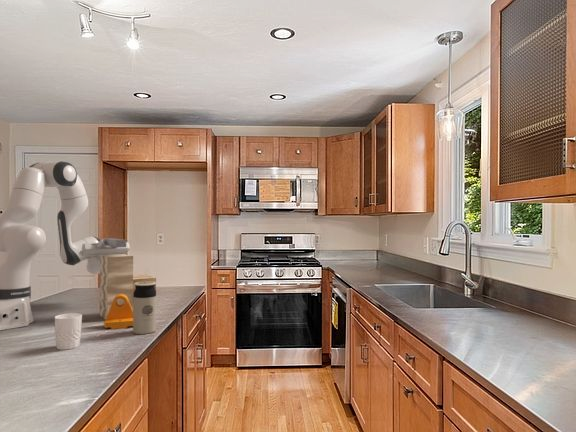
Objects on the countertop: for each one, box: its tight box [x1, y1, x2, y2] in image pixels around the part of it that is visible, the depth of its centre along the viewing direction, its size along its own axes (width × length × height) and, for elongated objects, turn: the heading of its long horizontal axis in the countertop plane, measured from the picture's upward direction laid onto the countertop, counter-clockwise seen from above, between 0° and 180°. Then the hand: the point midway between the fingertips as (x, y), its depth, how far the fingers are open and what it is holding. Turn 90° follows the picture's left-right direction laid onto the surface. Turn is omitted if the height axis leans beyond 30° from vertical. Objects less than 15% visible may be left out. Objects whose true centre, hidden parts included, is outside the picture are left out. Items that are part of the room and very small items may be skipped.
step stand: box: [99, 254, 157, 320], centre depth 179 cm, size 12×20×26 cm, turn 129°
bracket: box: [103, 294, 133, 330], centre depth 159 cm, size 11×7×12 cm, turn 108°
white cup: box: [54, 312, 83, 351], centre depth 133 cm, size 8×8×10 cm
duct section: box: [102, 237, 127, 247], centre depth 179 cm, size 20×4×3 cm, turn 39°
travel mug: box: [132, 282, 157, 335], centre depth 152 cm, size 8×8×18 cm
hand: (110, 240), depth 184 cm, fingers closed on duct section, 4 cm apart
